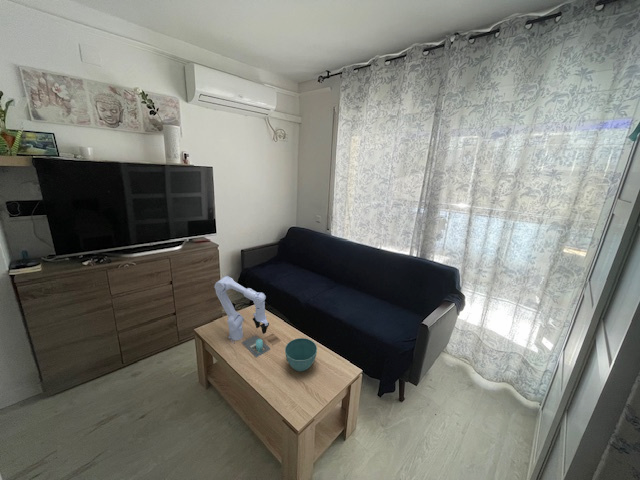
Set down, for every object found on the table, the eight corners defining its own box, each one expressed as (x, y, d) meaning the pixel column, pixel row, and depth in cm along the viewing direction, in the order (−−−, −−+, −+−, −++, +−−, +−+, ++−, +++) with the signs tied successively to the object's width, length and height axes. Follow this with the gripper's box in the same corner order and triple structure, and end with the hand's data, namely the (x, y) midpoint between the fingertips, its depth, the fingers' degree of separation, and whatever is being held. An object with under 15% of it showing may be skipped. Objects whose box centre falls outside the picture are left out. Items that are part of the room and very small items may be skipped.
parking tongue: (264, 339, 164) (264, 338, 164) (272, 335, 169) (272, 333, 169) (272, 347, 158) (272, 345, 157) (281, 342, 162) (281, 340, 162)
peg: (255, 351, 154) (254, 340, 152) (260, 348, 157) (260, 337, 154) (258, 354, 151) (258, 344, 149) (264, 351, 154) (263, 341, 152)
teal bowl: (310, 382, 133) (310, 364, 129) (279, 373, 138) (279, 355, 134) (320, 358, 150) (320, 341, 146) (292, 351, 155) (292, 335, 151)
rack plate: (242, 345, 159) (242, 341, 158) (256, 338, 166) (256, 334, 165) (256, 359, 147) (256, 355, 147) (270, 351, 154) (270, 347, 153)
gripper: (272, 314, 153) (272, 332, 157) (259, 305, 163) (260, 322, 167) (262, 318, 149) (263, 337, 152) (250, 308, 158) (251, 327, 162)
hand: (261, 330), depth 159 cm, fingers open, 7 cm apart
